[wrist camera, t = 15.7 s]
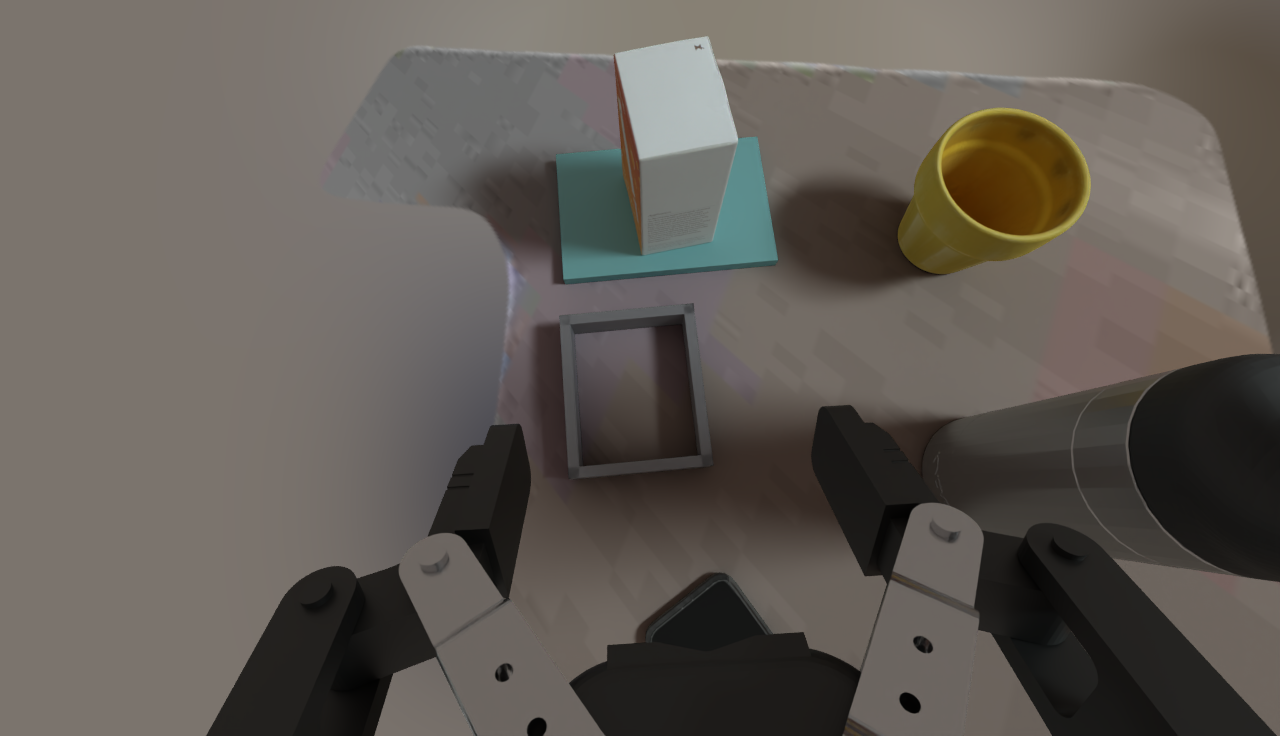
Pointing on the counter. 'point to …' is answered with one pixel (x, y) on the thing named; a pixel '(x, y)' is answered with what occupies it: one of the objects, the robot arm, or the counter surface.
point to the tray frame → (571, 399)
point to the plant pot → (993, 191)
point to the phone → (709, 617)
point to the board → (607, 232)
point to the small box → (674, 141)
